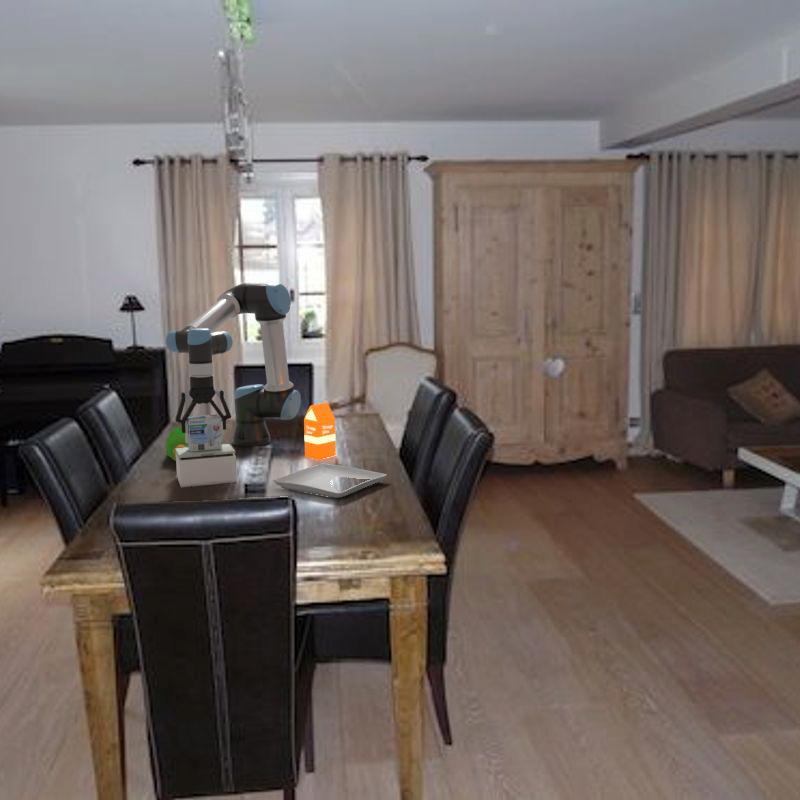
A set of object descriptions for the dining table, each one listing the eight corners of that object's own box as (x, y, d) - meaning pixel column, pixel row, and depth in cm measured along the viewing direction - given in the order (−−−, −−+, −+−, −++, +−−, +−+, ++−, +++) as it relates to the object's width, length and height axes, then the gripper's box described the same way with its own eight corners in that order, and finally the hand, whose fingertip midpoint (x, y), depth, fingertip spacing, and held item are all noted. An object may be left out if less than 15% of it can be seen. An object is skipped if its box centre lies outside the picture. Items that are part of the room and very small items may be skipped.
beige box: (230, 471, 282) (229, 446, 281) (236, 482, 270) (235, 455, 268) (176, 476, 276) (175, 451, 275) (180, 487, 263) (179, 460, 262)
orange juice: (336, 456, 304) (335, 403, 301) (318, 460, 298) (317, 406, 294) (322, 452, 309) (321, 401, 306) (304, 456, 303) (303, 404, 300)
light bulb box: (190, 452, 266) (188, 420, 264) (187, 448, 272) (185, 416, 270) (223, 448, 270) (221, 417, 268) (219, 444, 276) (217, 413, 275)
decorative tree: (171, 433, 288) (172, 414, 316) (160, 462, 289) (161, 441, 317) (202, 443, 291) (200, 423, 320) (191, 472, 292) (190, 450, 321)
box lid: (229, 446, 281) (228, 443, 281) (235, 453, 268) (235, 450, 268) (175, 450, 275) (175, 448, 275) (179, 458, 262) (179, 455, 261)
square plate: (339, 504, 246) (339, 492, 245) (271, 491, 260) (270, 479, 260) (388, 483, 268) (388, 472, 268) (322, 472, 283) (322, 461, 282)
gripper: (234, 372, 274) (237, 435, 278) (164, 375, 266) (167, 441, 270) (238, 375, 267) (241, 440, 271) (165, 379, 259) (169, 446, 263)
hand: (204, 440), depth 271 cm, fingers closed on light bulb box, 11 cm apart
